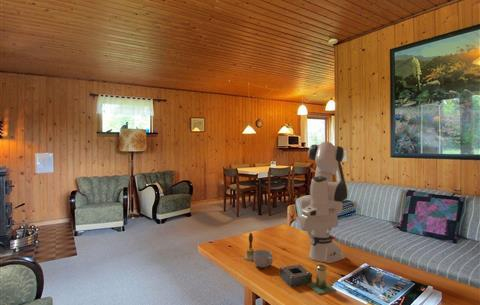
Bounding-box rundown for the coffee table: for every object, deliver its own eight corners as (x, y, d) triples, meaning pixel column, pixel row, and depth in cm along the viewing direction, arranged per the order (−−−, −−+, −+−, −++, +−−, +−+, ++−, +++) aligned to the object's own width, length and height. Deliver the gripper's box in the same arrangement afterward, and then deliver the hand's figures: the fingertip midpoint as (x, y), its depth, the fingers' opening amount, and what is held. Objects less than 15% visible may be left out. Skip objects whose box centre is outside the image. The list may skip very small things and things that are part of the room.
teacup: (250, 263, 163) (250, 250, 163) (267, 260, 167) (267, 247, 167) (260, 273, 150) (260, 259, 150) (278, 270, 154) (278, 256, 154)
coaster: (323, 281, 141) (323, 280, 141) (336, 291, 132) (336, 289, 132) (306, 284, 138) (306, 283, 138) (318, 294, 129) (318, 293, 129)
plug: (322, 283, 138) (322, 263, 138) (328, 287, 134) (328, 267, 133) (314, 285, 137) (314, 265, 136) (320, 289, 132) (320, 269, 132)
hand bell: (256, 255, 175) (256, 230, 175) (257, 260, 167) (257, 235, 166) (243, 255, 175) (243, 231, 174) (244, 261, 167) (244, 235, 166)
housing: (299, 273, 150) (299, 263, 150) (311, 283, 139) (311, 273, 139) (279, 276, 146) (279, 266, 146) (291, 287, 135) (291, 276, 135)
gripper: (332, 206, 141) (332, 232, 142) (298, 210, 134) (298, 237, 135) (340, 209, 135) (340, 236, 136) (305, 213, 128) (305, 242, 129)
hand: (319, 237), depth 135 cm, fingers open, 8 cm apart
